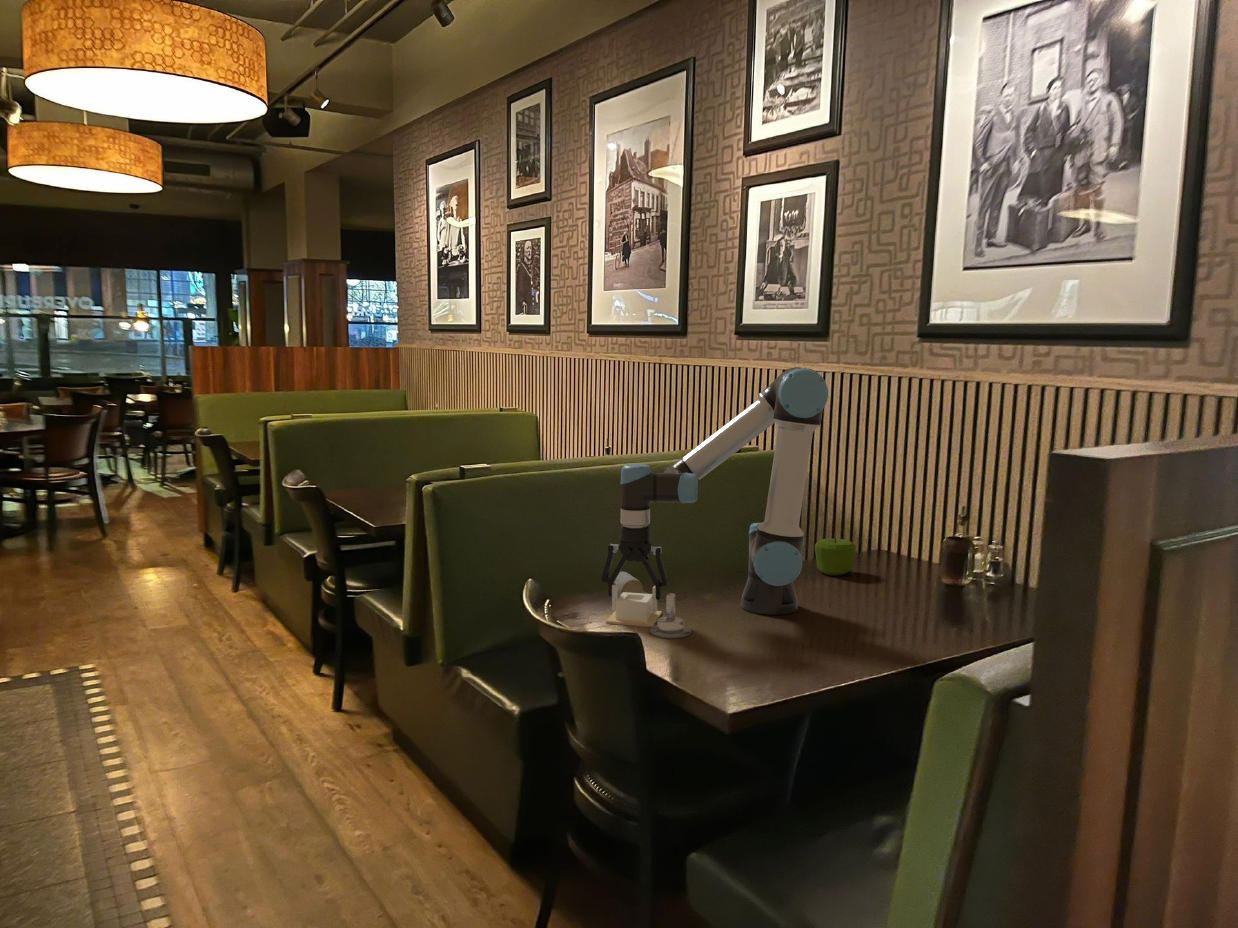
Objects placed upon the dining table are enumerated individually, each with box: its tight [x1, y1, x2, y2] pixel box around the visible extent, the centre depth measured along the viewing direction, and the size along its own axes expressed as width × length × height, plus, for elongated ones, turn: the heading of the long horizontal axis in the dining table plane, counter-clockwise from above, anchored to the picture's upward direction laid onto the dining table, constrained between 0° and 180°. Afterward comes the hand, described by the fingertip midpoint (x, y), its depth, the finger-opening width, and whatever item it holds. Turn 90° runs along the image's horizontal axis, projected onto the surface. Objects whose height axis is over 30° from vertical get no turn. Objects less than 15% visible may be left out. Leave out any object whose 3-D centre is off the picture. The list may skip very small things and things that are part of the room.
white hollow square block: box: [615, 592, 652, 622], centre depth 229 cm, size 8×8×5 cm
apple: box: [814, 537, 857, 577], centre depth 277 cm, size 12×12×11 cm
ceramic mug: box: [614, 571, 649, 599], centre depth 246 cm, size 11×8×8 cm
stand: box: [649, 592, 692, 640], centre depth 218 cm, size 10×10×10 cm
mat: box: [605, 609, 663, 628], centre depth 230 cm, size 12×12×1 cm
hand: (634, 610), depth 230 cm, fingers open, 10 cm apart
